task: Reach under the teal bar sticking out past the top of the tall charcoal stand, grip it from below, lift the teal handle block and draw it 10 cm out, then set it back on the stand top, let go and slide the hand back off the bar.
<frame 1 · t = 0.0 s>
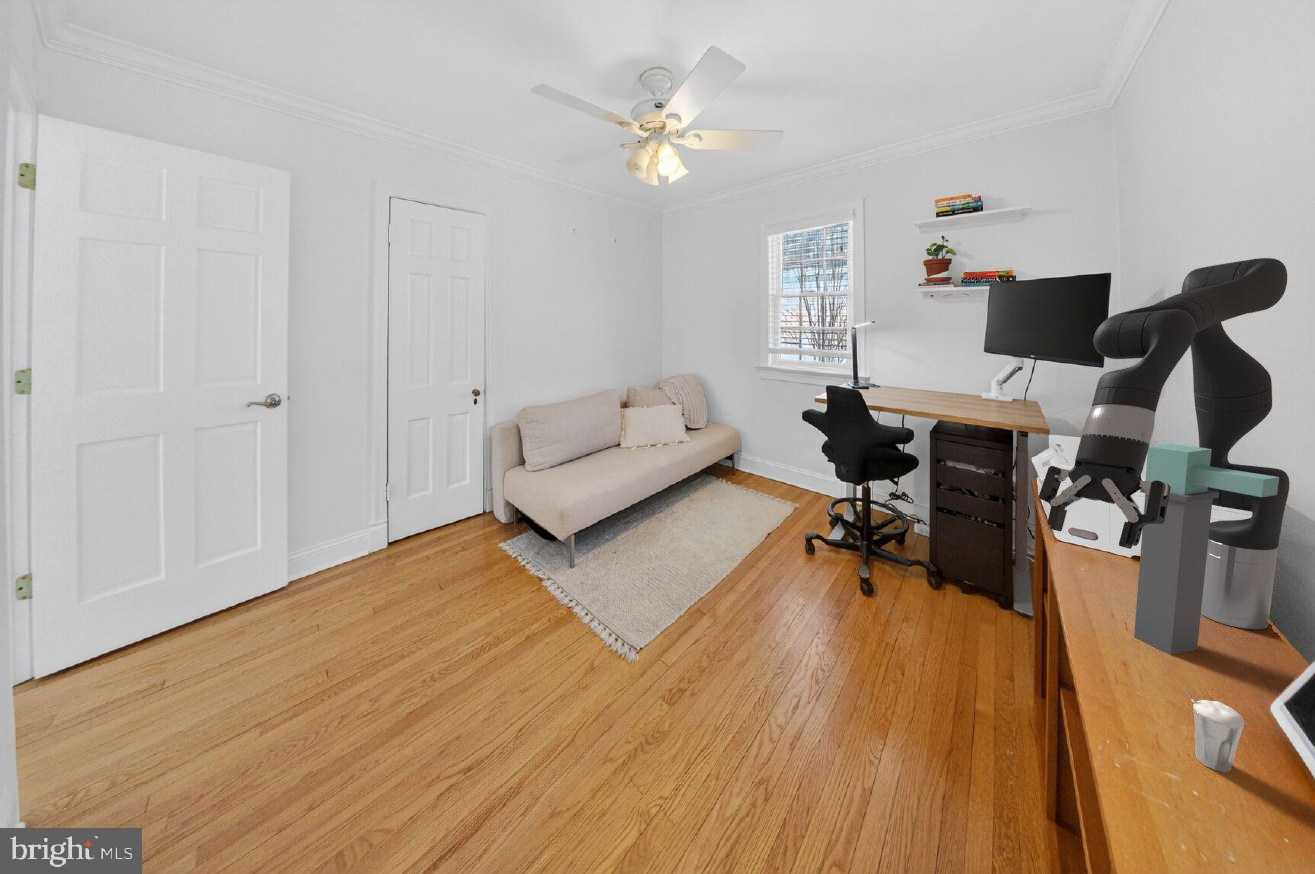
hand: (1088, 538, 69), 31 cm above the table, tool tilted 20°, fingers open, 8 cm apart
teal handle: (1178, 489, 84), point 32 cm above the table, touching stand
milkshake: (1208, 761, 65), on the table
stand: (1164, 643, 89), on the table
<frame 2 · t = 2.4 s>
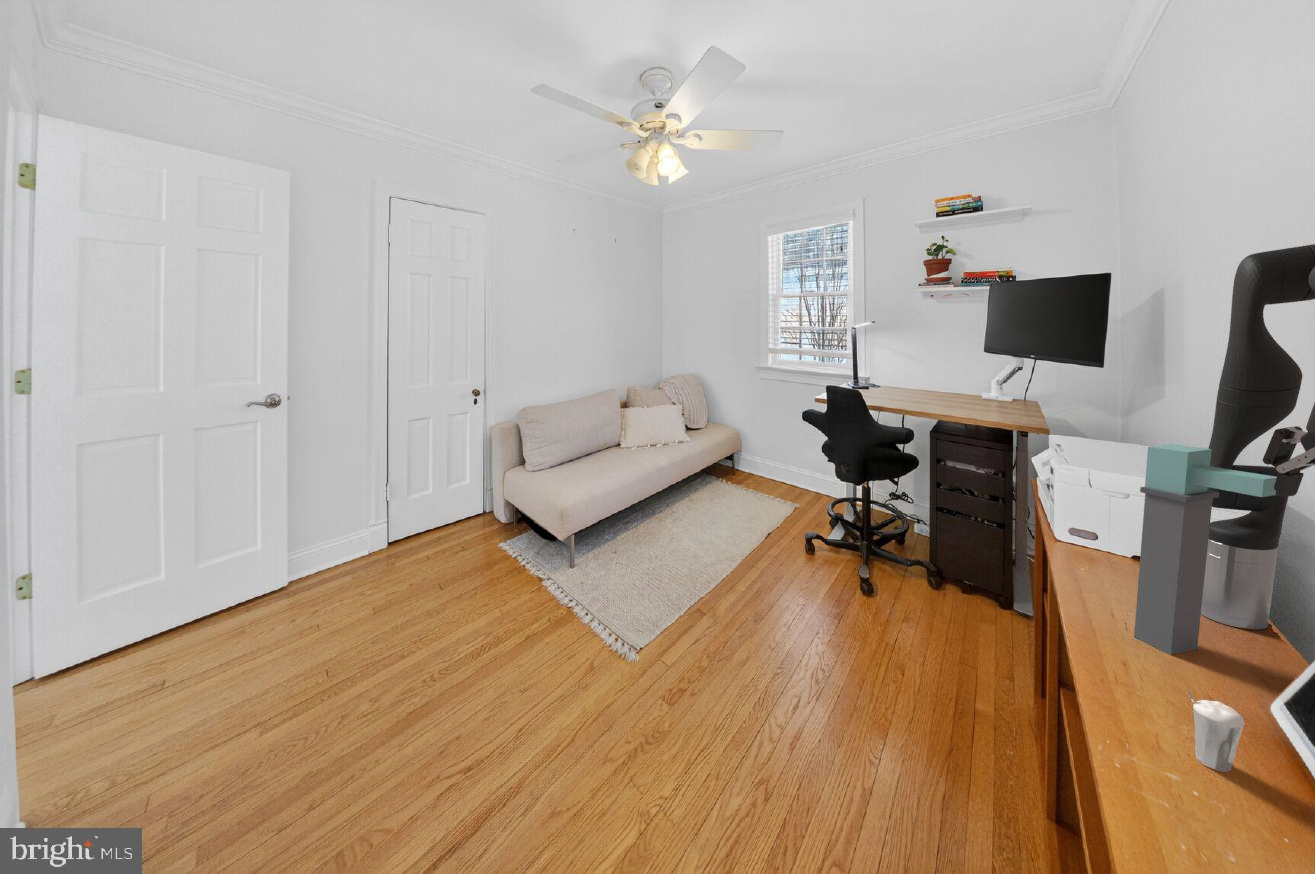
nothing on the table moved.
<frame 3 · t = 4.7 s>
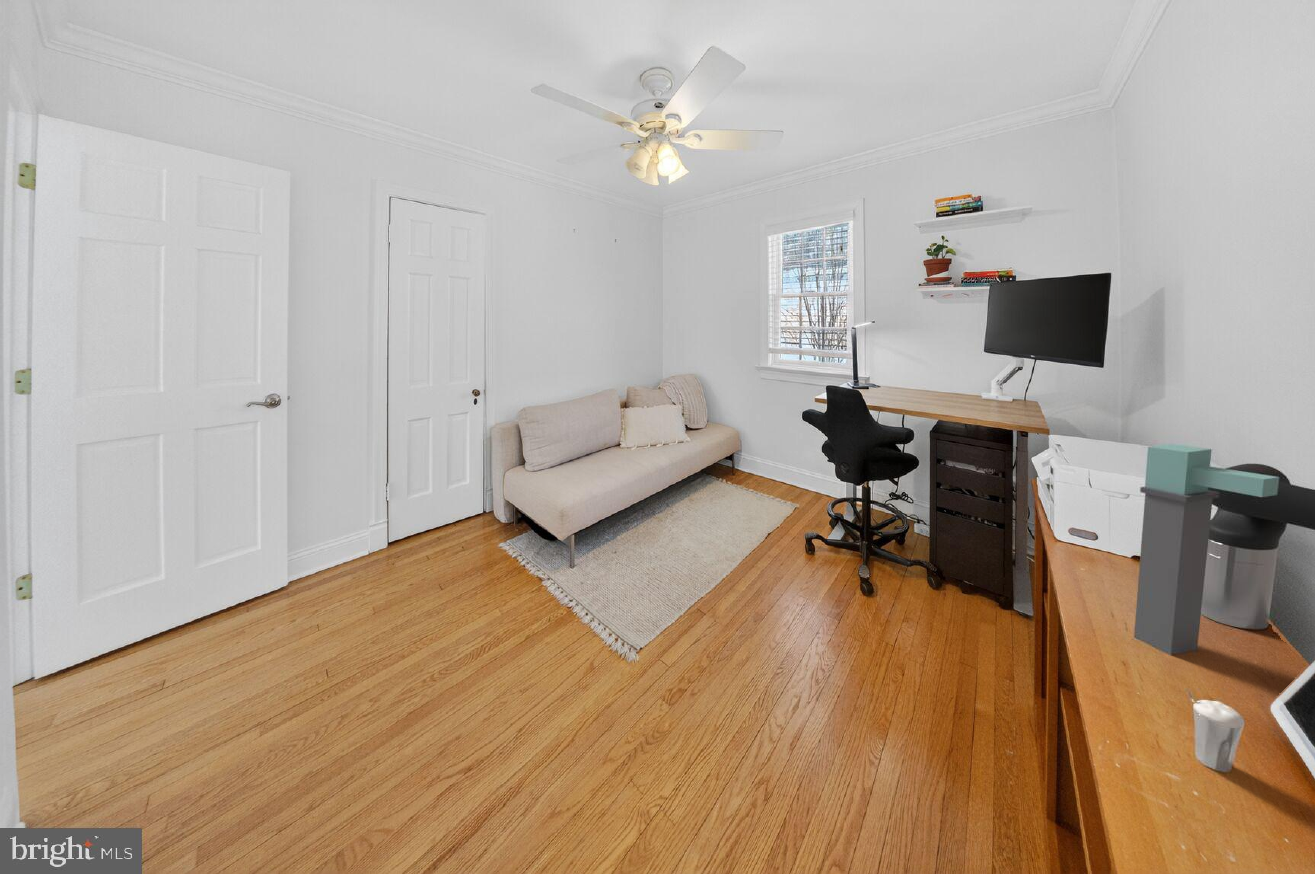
nothing on the table moved.
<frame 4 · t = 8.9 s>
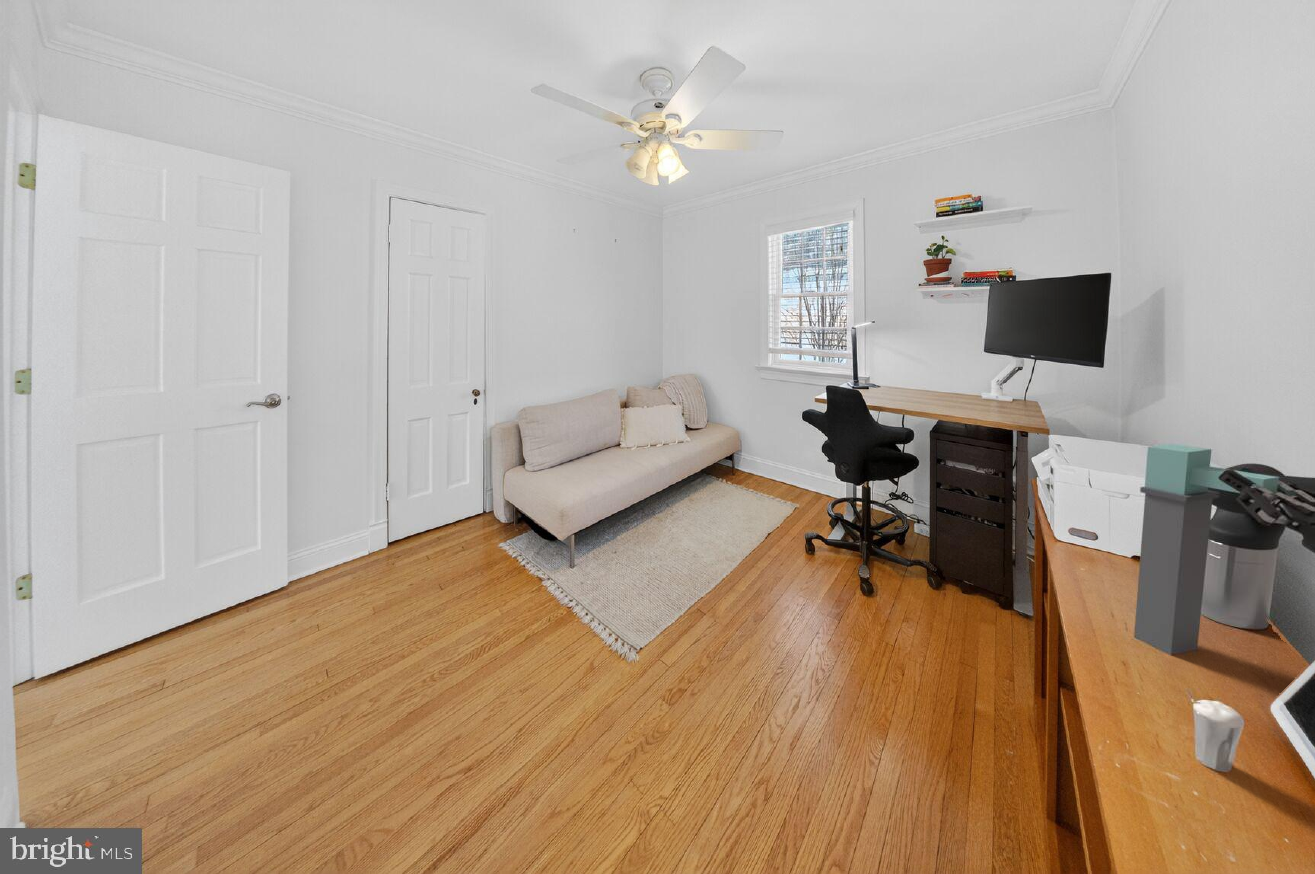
hand: (1232, 472, 77), 37 cm above the table, tool pointing upward, fingers closed on teal handle, 3 cm apart
teal handle: (1178, 489, 84), point 32 cm above the table, touching gripper, stand
everything else where it was.
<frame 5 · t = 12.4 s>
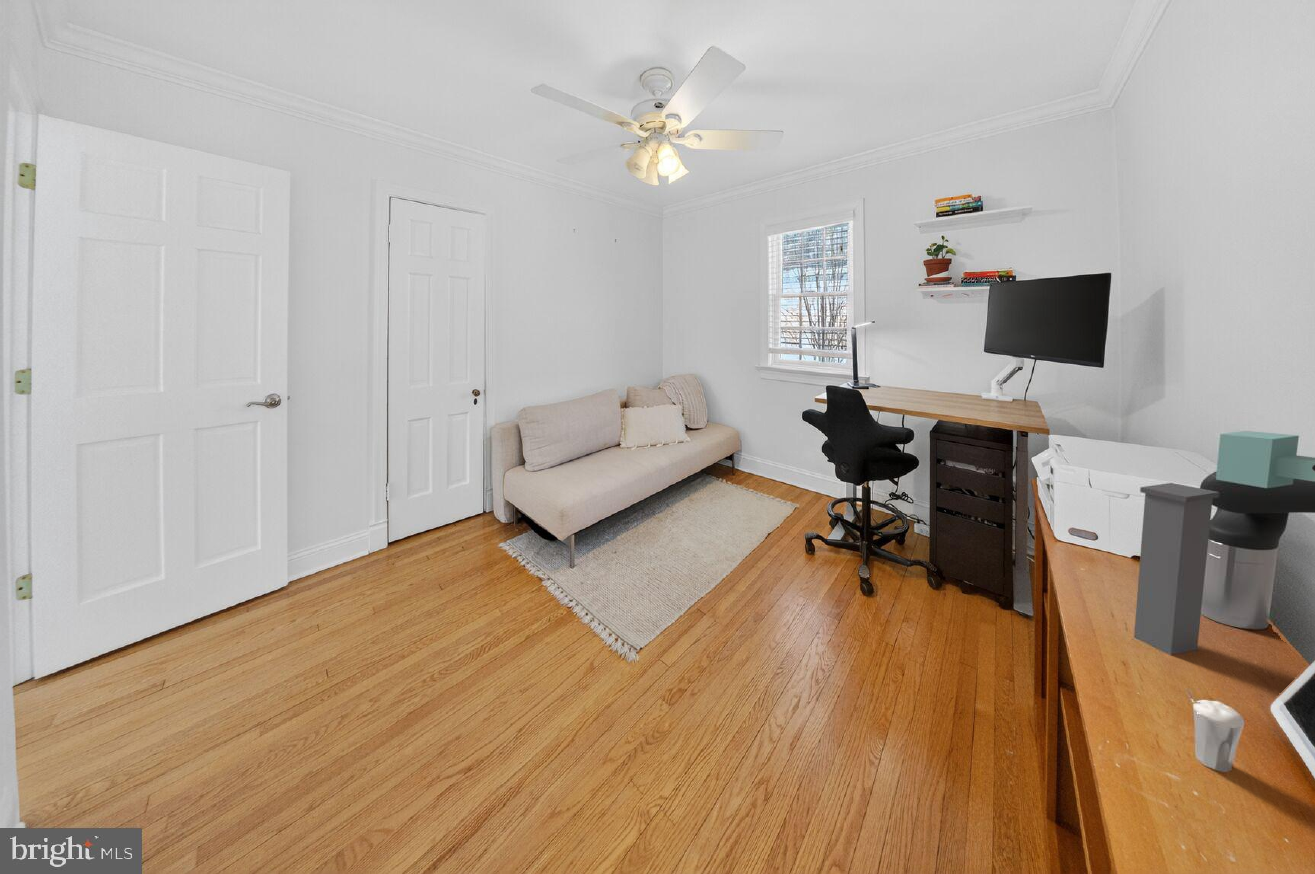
teal handle: (1257, 482, 74), point 36 cm above the table, touching gripper
everything else where it was.
when the fingers open (38 cm above the table, at t = 15.9 s): teal handle stays where it is, resting on stand.
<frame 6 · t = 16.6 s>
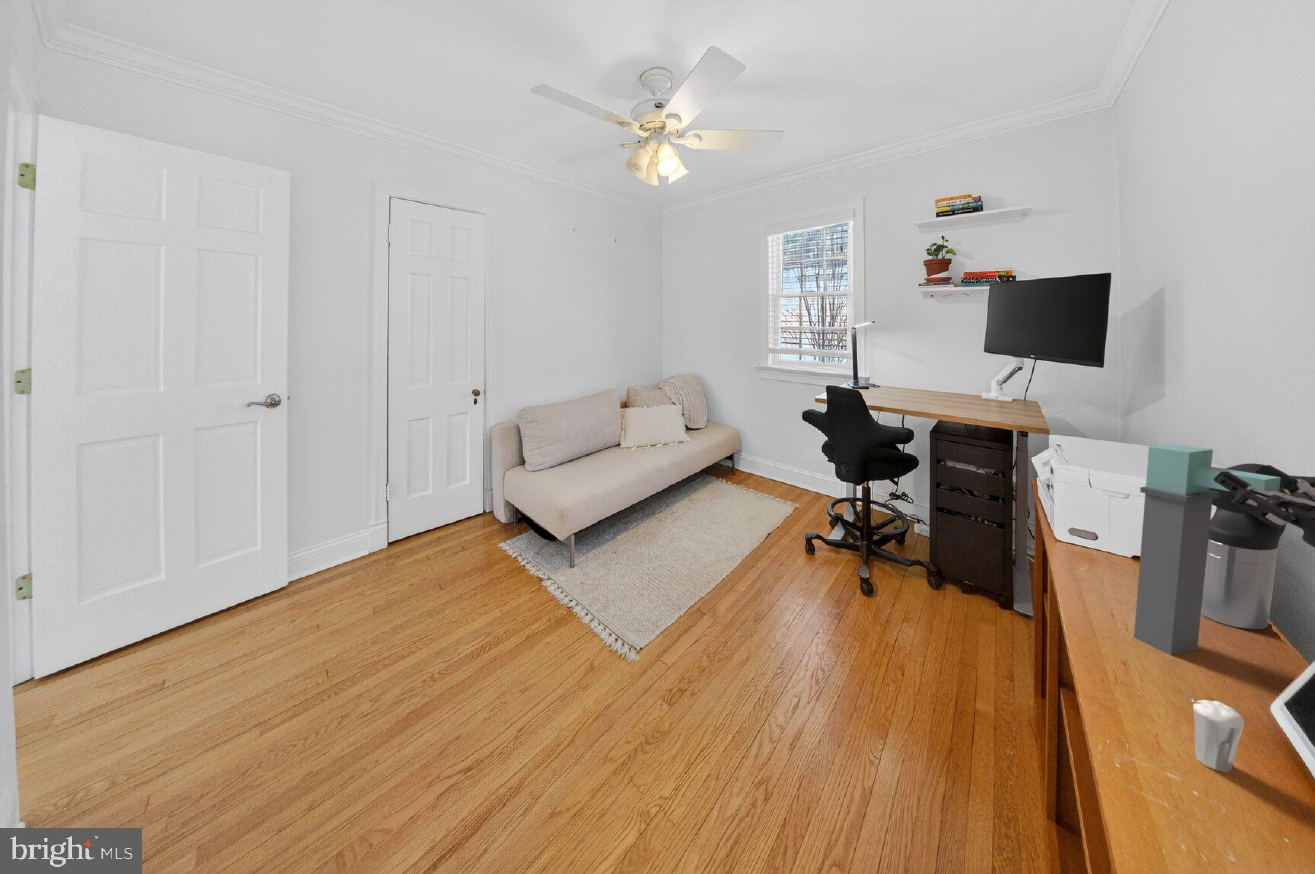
hand: (1240, 471, 76), 37 cm above the table, tool pointing upward, fingers open, 8 cm apart
teal handle: (1179, 489, 84), point 32 cm above the table, touching stand
everything else where it was.
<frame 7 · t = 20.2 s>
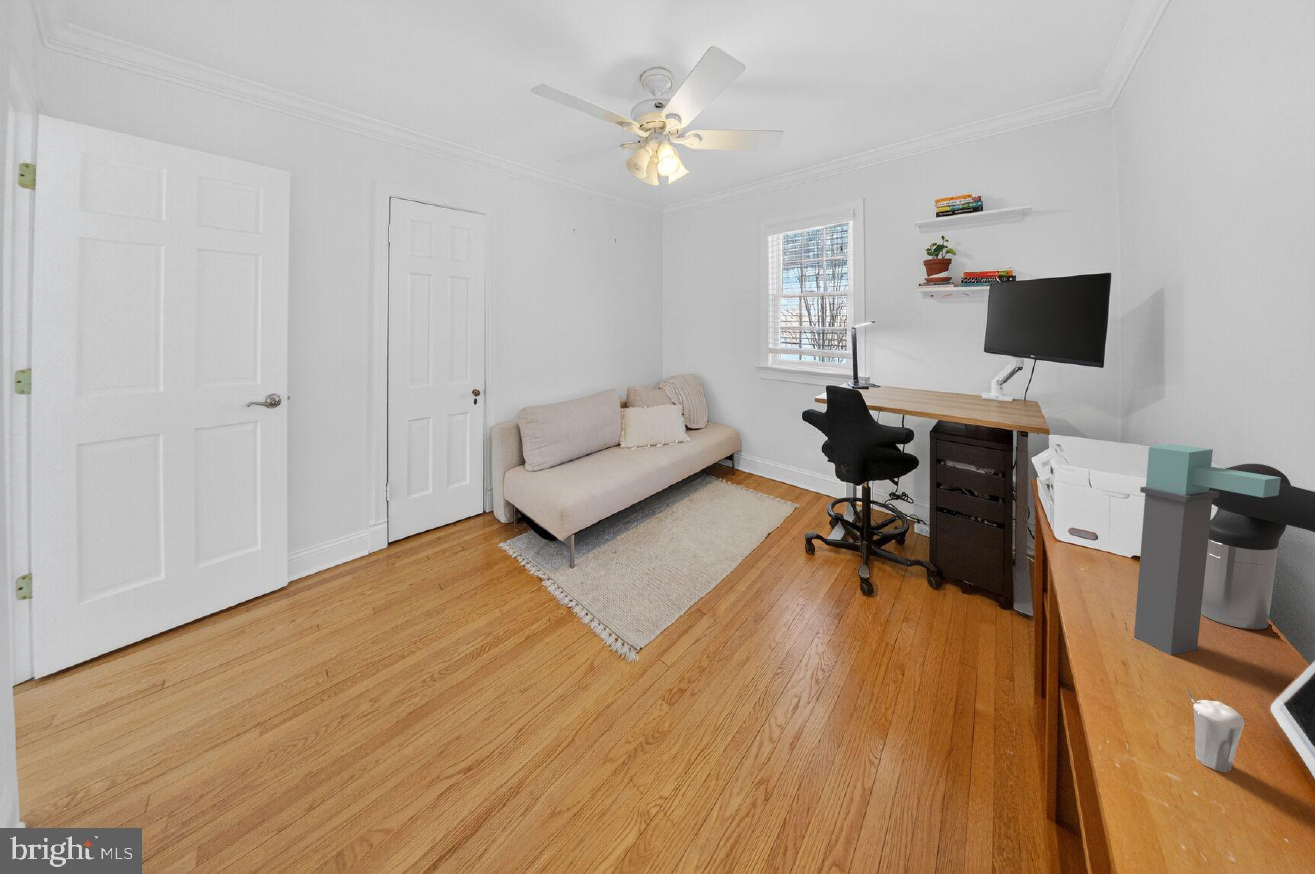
nothing on the table moved.
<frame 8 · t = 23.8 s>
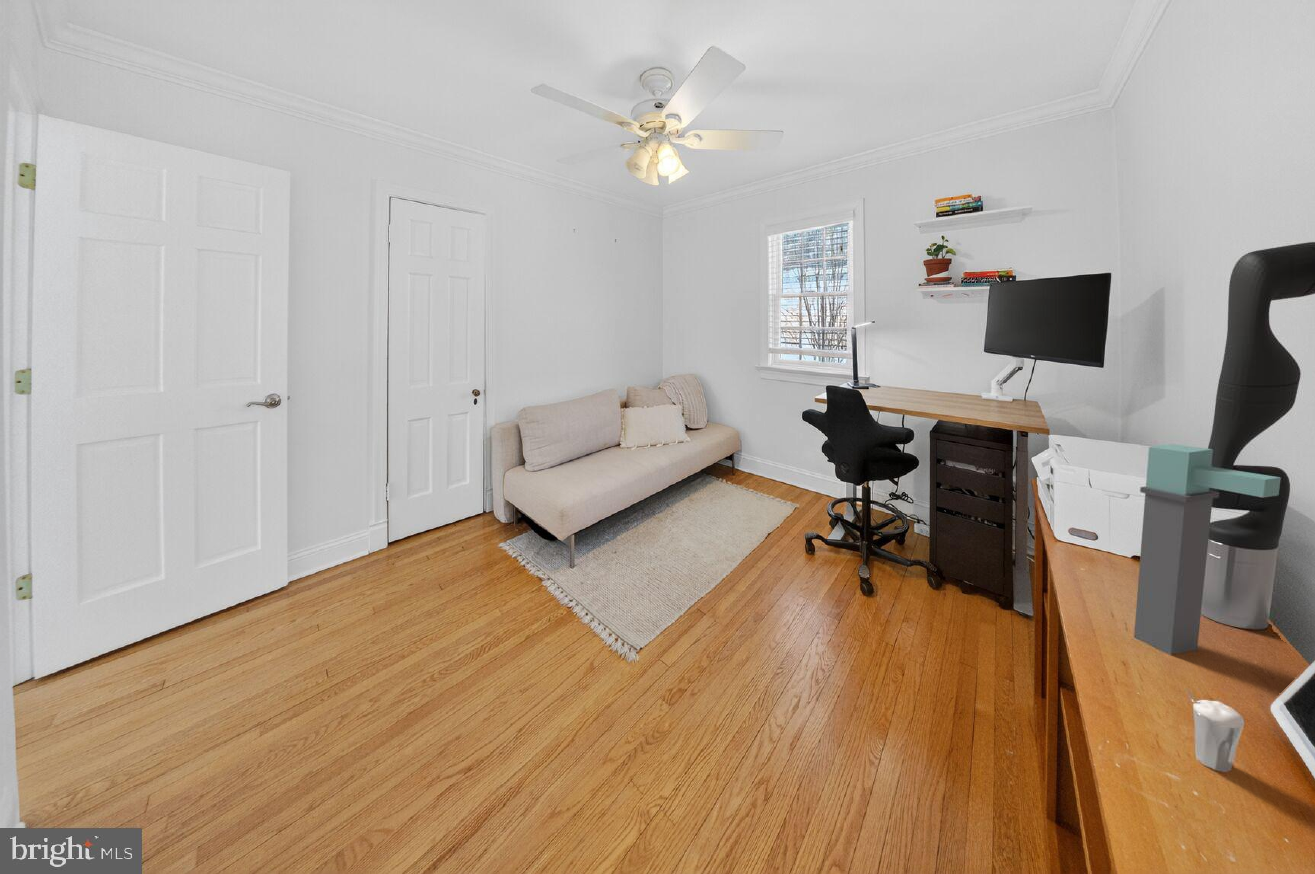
nothing on the table moved.
at the end: teal handle 0.2 cm off-centre on the stand, point 32.0 cm above the stand's base; teal handle tilted 0°; the gripper is holding nothing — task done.
